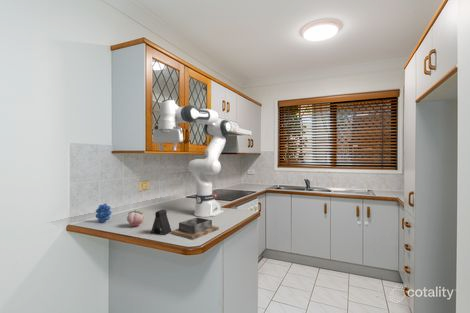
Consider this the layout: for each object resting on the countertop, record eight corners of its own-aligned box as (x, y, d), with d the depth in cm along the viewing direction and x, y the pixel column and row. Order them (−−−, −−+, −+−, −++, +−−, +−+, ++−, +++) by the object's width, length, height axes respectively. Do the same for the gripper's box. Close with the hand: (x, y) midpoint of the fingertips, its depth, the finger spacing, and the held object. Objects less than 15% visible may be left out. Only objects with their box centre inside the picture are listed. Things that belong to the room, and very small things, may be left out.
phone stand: (171, 231, 132) (171, 209, 132) (164, 235, 127) (164, 212, 127) (157, 230, 135) (157, 208, 135) (150, 233, 130) (150, 211, 130)
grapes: (116, 221, 153) (116, 202, 153) (108, 224, 147) (107, 204, 147) (101, 220, 157) (101, 201, 157) (92, 223, 150) (92, 203, 150)
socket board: (197, 224, 145) (197, 215, 145) (218, 229, 136) (218, 219, 136) (171, 233, 129) (171, 223, 129) (193, 239, 120) (193, 228, 120)
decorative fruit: (146, 224, 147) (146, 207, 147) (141, 228, 139) (141, 210, 139) (130, 224, 147) (130, 207, 147) (124, 228, 139) (124, 211, 139)
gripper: (185, 126, 142) (185, 150, 142) (158, 128, 151) (158, 150, 151) (178, 125, 136) (178, 149, 136) (151, 127, 145) (151, 150, 145)
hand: (167, 150), depth 144 cm, fingers open, 8 cm apart
